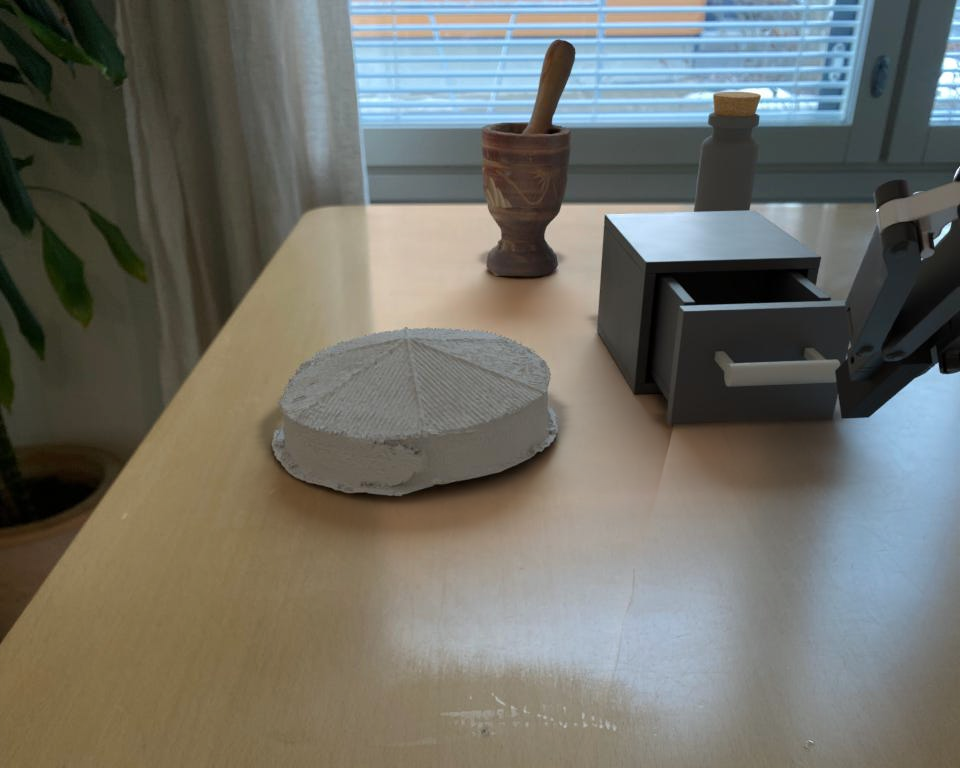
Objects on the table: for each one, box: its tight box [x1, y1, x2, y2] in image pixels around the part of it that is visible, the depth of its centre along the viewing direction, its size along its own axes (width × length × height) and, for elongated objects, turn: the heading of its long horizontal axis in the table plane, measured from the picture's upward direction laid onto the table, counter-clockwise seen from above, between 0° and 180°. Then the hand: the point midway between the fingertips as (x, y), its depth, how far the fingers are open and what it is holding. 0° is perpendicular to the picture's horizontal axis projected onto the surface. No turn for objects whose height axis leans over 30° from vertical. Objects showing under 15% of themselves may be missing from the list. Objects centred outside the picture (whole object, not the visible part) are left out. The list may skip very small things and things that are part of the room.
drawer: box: [647, 269, 850, 428], centre depth 68 cm, size 18×11×8 cm, turn 5°
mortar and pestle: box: [480, 38, 577, 277], centre depth 97 cm, size 12×9×20 cm
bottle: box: [693, 91, 762, 212], centre depth 103 cm, size 6×6×15 cm
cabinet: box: [596, 209, 822, 395], centre depth 77 cm, size 15×13×10 cm
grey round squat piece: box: [271, 326, 559, 497], centre depth 66 cm, size 20×20×7 cm
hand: (851, 393), depth 52 cm, fingers closed
